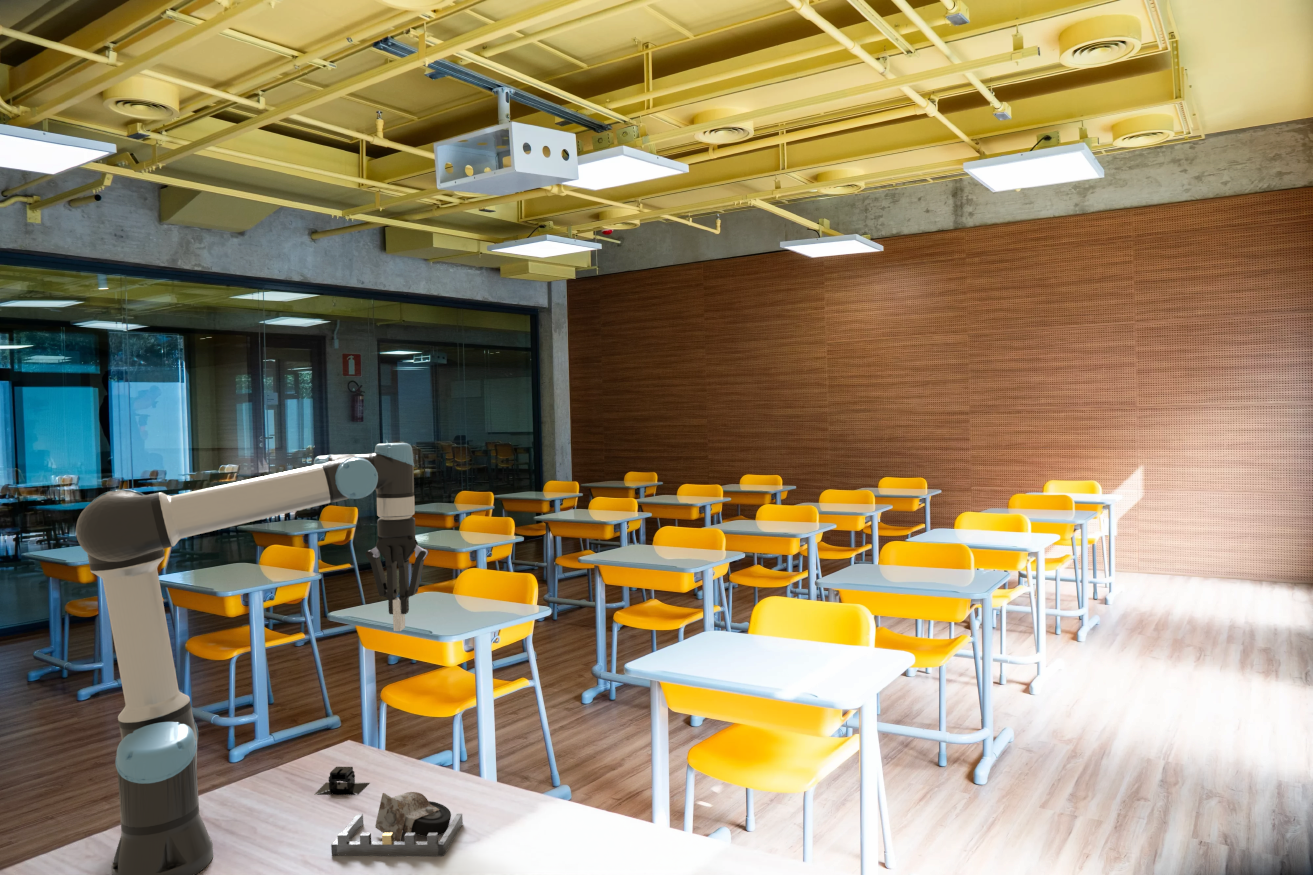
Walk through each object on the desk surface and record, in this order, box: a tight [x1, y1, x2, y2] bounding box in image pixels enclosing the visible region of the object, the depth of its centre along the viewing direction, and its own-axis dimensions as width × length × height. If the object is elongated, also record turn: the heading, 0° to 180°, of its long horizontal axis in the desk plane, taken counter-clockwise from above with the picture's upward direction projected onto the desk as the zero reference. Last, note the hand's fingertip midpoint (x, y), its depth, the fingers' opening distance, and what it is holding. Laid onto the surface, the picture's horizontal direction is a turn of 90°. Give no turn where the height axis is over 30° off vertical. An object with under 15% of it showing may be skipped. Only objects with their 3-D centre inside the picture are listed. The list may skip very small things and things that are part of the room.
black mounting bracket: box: [314, 766, 371, 796], centre depth 174 cm, size 12×7×5 cm, turn 85°
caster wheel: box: [374, 791, 452, 842], centre depth 156 cm, size 7×11×10 cm
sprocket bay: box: [330, 813, 464, 857], centre depth 153 cm, size 20×11×4 cm, turn 86°
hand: (399, 629), depth 177 cm, fingers closed
